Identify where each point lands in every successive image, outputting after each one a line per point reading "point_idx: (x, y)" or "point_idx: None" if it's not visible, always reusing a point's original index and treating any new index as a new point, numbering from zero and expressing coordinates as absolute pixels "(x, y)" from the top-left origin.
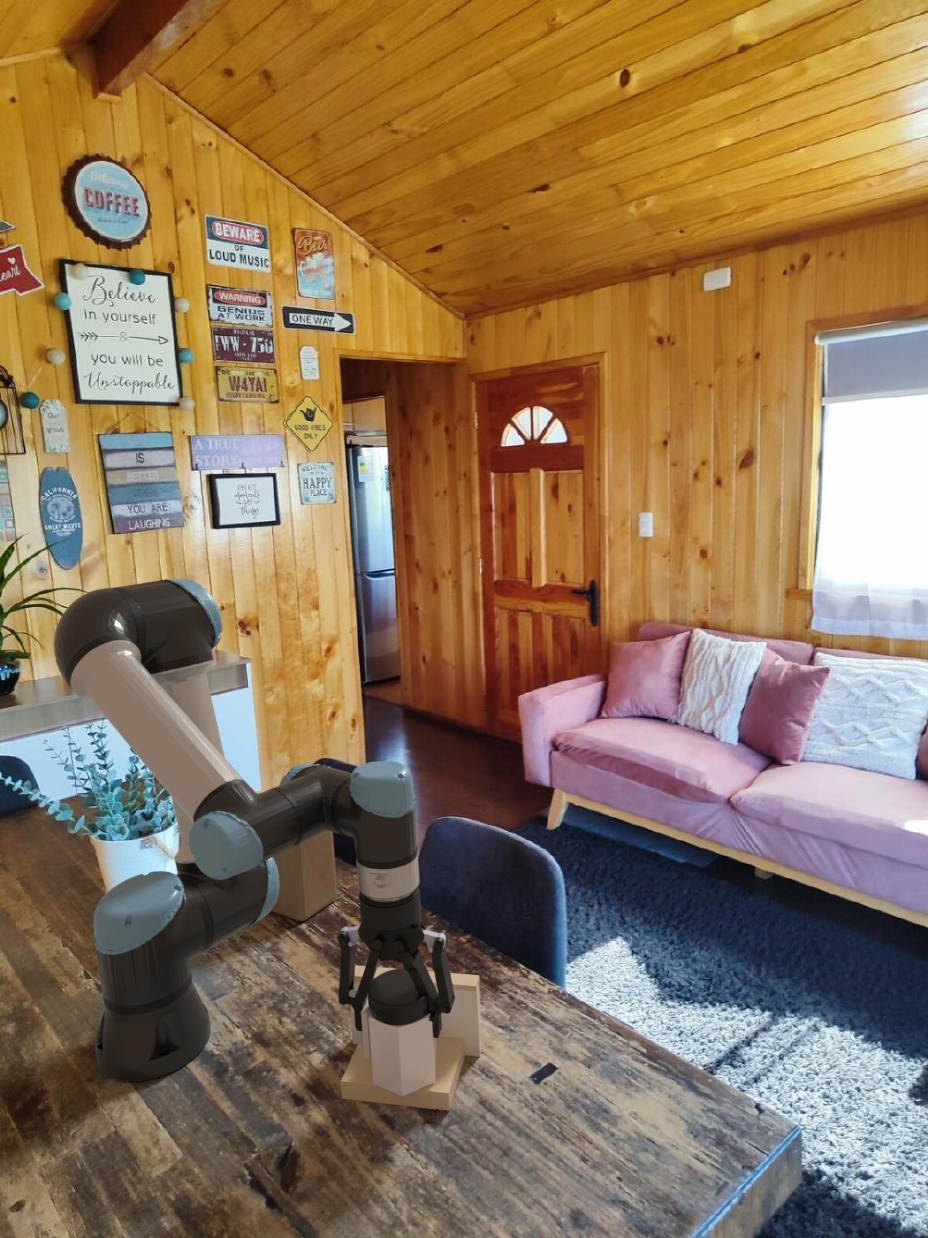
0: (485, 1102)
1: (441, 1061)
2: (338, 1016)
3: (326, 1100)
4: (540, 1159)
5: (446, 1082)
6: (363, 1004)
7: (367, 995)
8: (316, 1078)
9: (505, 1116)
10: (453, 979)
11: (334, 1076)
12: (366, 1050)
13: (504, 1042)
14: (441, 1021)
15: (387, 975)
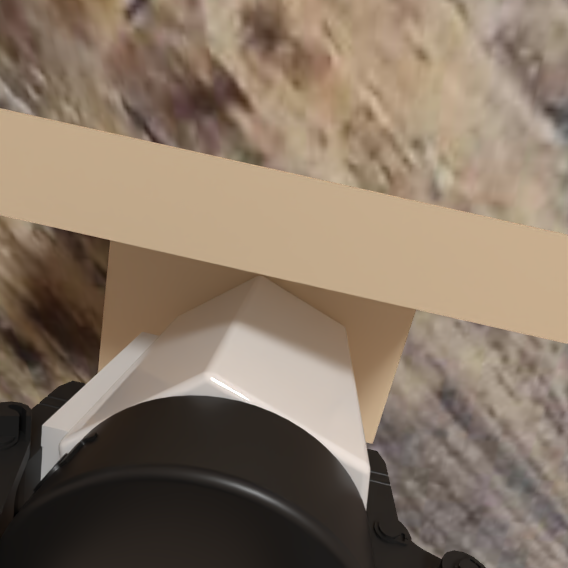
0: (452, 397)
1: (358, 337)
2: (23, 24)
3: (86, 357)
4: (539, 538)
5: (368, 410)
6: (29, 491)
7: (29, 432)
8: (42, 288)
9: (491, 438)
10: (489, 281)
11: (83, 285)
12: None
13: (546, 190)
14: (389, 485)
15: (72, 539)
